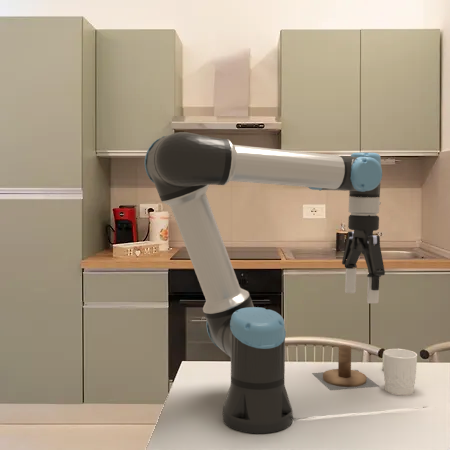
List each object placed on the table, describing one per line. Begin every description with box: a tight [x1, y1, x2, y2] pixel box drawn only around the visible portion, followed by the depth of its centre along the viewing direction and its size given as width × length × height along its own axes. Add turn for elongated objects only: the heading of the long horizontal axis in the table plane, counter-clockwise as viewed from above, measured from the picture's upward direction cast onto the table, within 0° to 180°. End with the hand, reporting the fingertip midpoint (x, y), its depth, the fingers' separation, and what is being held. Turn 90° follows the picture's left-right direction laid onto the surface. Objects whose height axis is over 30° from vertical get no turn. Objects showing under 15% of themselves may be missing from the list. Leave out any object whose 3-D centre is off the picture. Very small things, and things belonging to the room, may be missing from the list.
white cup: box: [382, 348, 418, 396], centre depth 143 cm, size 8×8×10 cm
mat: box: [311, 369, 380, 391], centre depth 151 cm, size 13×13×1 cm
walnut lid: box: [323, 344, 367, 387], centre depth 150 cm, size 11×11×8 cm
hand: (361, 297), depth 149 cm, fingers open, 13 cm apart
